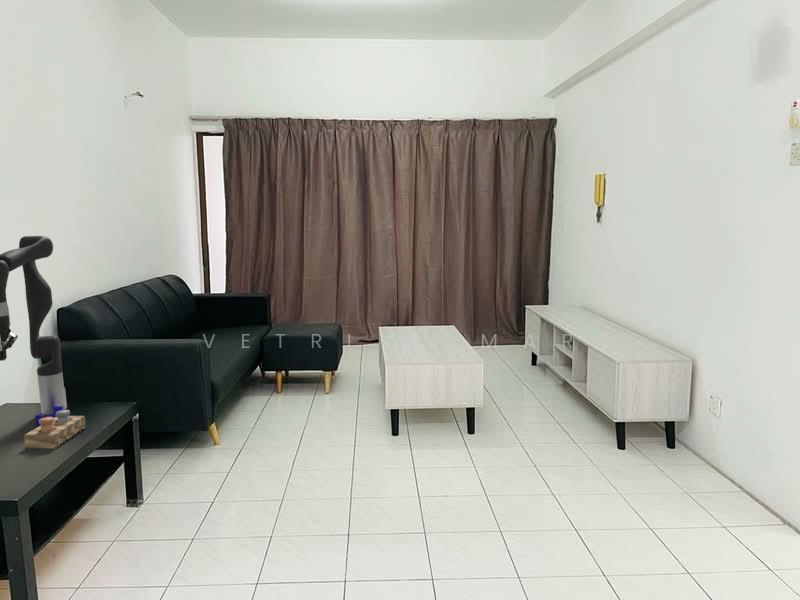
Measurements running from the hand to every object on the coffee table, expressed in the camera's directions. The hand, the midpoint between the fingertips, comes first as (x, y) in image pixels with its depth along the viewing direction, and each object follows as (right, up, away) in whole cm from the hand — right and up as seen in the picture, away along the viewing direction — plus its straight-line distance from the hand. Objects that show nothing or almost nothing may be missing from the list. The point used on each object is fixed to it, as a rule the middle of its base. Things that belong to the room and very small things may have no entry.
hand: (2, 360), depth 221 cm
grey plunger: (+17, -29, +11) cm, 35 cm away
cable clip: (+6, -28, +20) cm, 35 cm away
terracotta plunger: (+17, -30, +1) cm, 34 cm away
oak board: (+17, -30, +6) cm, 35 cm away
